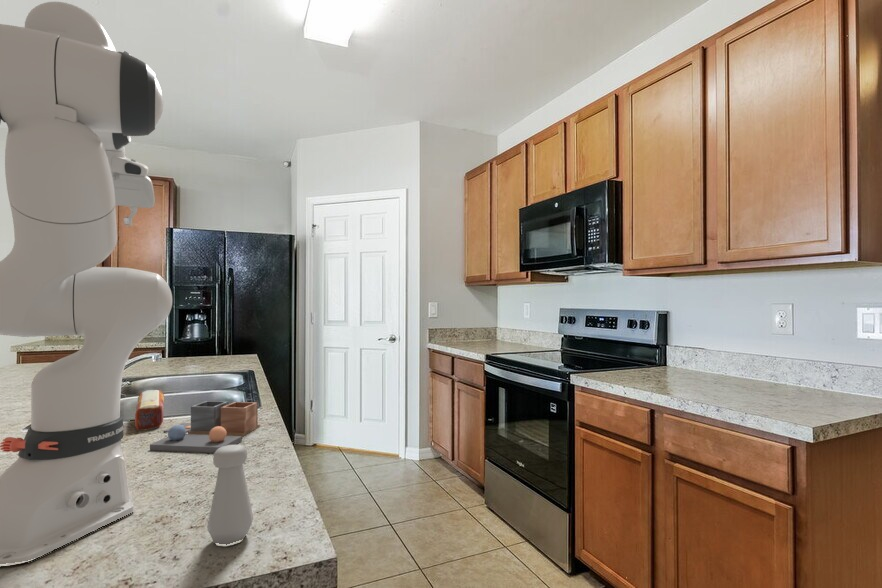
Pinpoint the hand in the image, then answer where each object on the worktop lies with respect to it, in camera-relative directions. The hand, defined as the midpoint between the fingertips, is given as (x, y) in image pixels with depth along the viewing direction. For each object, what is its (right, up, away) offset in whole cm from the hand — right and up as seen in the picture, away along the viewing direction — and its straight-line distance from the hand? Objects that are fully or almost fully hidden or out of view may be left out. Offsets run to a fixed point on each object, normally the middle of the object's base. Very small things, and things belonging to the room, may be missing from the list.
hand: (103, 223), depth 104 cm
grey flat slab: (+22, -51, -1) cm, 55 cm away
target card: (+11, -51, +13) cm, 54 cm away
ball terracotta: (+27, -48, -1) cm, 55 cm away
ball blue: (+17, -48, 0) cm, 51 cm away
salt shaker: (+48, -51, -40) cm, 81 cm away
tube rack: (+23, -51, +11) cm, 57 cm away
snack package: (-2, -51, +21) cm, 55 cm away
